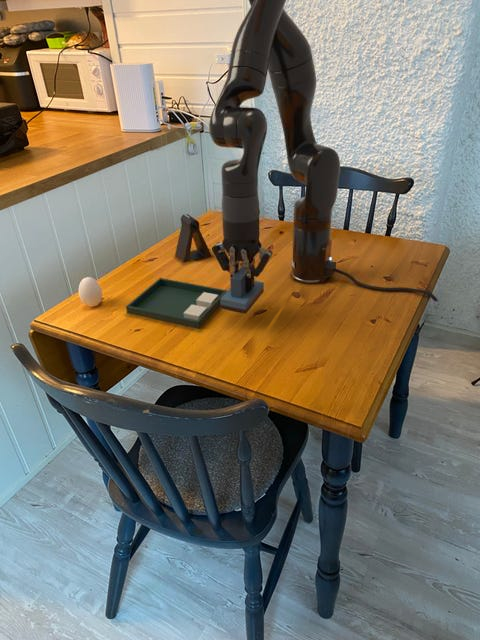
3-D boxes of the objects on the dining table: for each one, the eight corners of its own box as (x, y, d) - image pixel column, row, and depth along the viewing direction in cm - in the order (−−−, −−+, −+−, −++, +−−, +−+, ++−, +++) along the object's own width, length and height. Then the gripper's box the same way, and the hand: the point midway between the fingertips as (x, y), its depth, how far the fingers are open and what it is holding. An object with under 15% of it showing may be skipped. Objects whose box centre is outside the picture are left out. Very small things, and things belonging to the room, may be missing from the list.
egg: (93, 313, 112) (86, 285, 108) (77, 307, 114) (70, 280, 110) (109, 303, 116) (103, 275, 111) (93, 298, 118) (87, 270, 114)
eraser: (263, 291, 108) (263, 264, 104) (245, 314, 100) (245, 285, 96) (240, 287, 110) (239, 260, 107) (220, 308, 102) (219, 280, 99)
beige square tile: (219, 301, 114) (218, 294, 113) (211, 309, 110) (211, 302, 110) (204, 298, 115) (203, 292, 114) (196, 306, 112) (196, 299, 111)
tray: (227, 298, 116) (227, 290, 114) (199, 330, 104) (198, 322, 103) (161, 285, 122) (160, 277, 121) (127, 314, 111) (125, 306, 109)
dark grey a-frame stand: (183, 264, 132) (178, 223, 126) (175, 256, 137) (170, 217, 130) (211, 256, 136) (208, 217, 129) (202, 249, 140) (199, 210, 134)
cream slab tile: (207, 313, 109) (207, 307, 108) (199, 322, 106) (199, 316, 105) (192, 310, 110) (191, 304, 109) (184, 319, 107) (183, 312, 106)
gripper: (201, 216, 94) (207, 291, 104) (266, 225, 89) (265, 303, 99) (218, 204, 100) (222, 276, 109) (279, 212, 95) (278, 287, 104)
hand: (242, 288), depth 104 cm, fingers closed on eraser, 2 cm apart
